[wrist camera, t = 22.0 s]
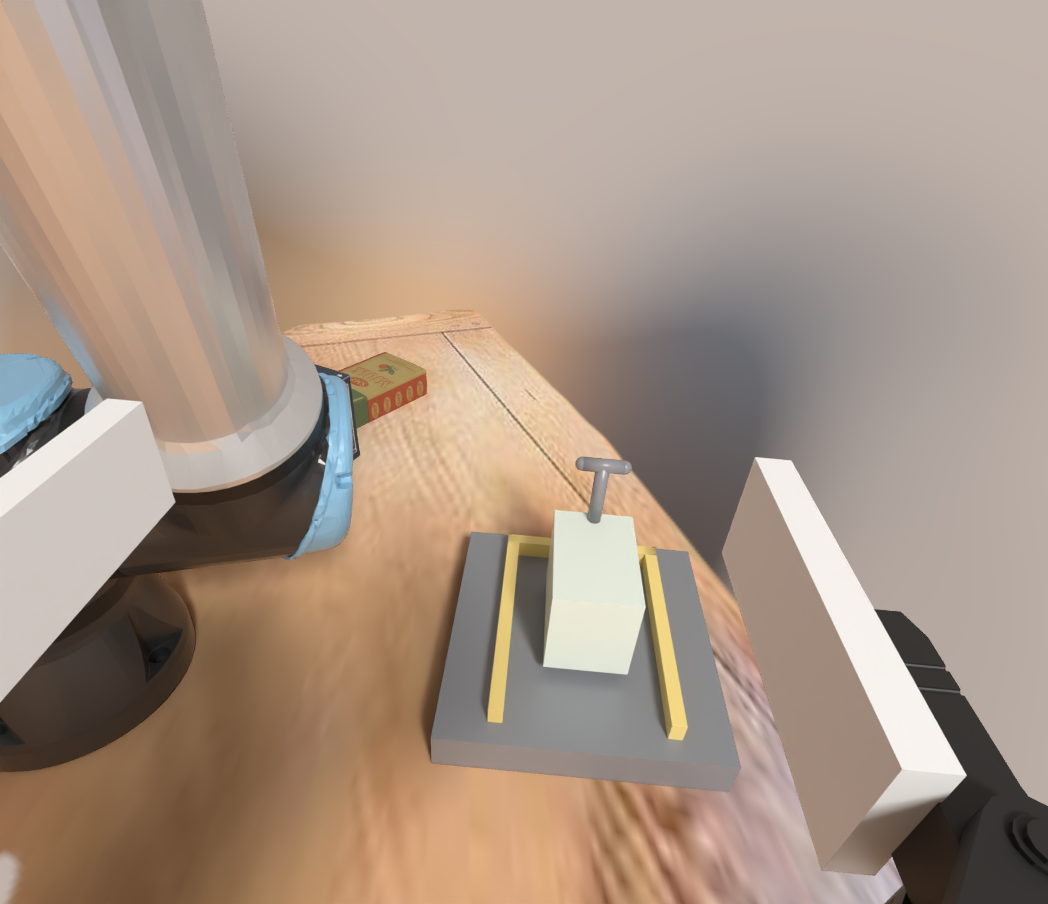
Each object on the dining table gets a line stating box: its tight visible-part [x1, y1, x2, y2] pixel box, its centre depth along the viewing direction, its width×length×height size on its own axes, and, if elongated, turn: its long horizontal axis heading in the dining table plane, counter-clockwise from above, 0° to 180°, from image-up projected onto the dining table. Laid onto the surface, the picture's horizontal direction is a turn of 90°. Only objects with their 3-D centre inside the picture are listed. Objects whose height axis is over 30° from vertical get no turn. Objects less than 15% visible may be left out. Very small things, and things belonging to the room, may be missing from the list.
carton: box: [339, 352, 427, 429], centre depth 78 cm, size 8×16×4 cm, turn 144°
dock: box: [431, 532, 741, 792], centre depth 47 cm, size 20×20×4 cm
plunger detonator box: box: [543, 457, 646, 675], centre depth 43 cm, size 6×9×14 cm, turn 177°
